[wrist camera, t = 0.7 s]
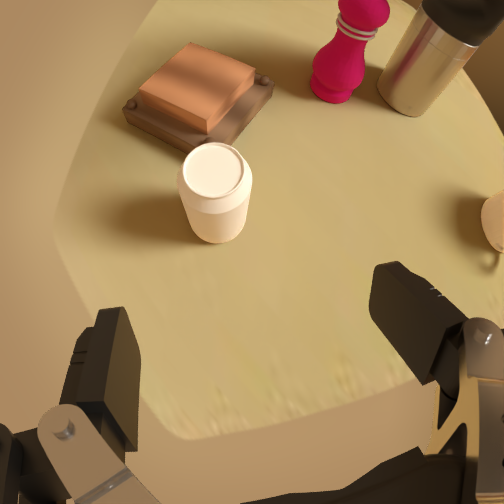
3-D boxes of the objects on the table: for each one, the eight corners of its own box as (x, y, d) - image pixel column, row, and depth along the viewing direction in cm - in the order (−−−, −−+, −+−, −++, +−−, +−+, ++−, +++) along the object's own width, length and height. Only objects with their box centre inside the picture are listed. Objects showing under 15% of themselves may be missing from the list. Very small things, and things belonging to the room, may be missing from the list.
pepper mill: (343, 114, 41) (399, 6, 21) (298, 90, 41) (333, -25, 22) (359, 87, 42) (410, -11, 23) (318, 65, 43) (353, -39, 23)
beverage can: (225, 183, 37) (225, 123, 25) (256, 225, 36) (269, 178, 24) (179, 212, 36) (159, 160, 24) (209, 256, 35) (200, 221, 23)
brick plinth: (190, 60, 41) (187, 31, 35) (271, 95, 40) (277, 66, 35) (127, 122, 38) (116, 94, 32) (212, 168, 37) (211, 141, 31)
